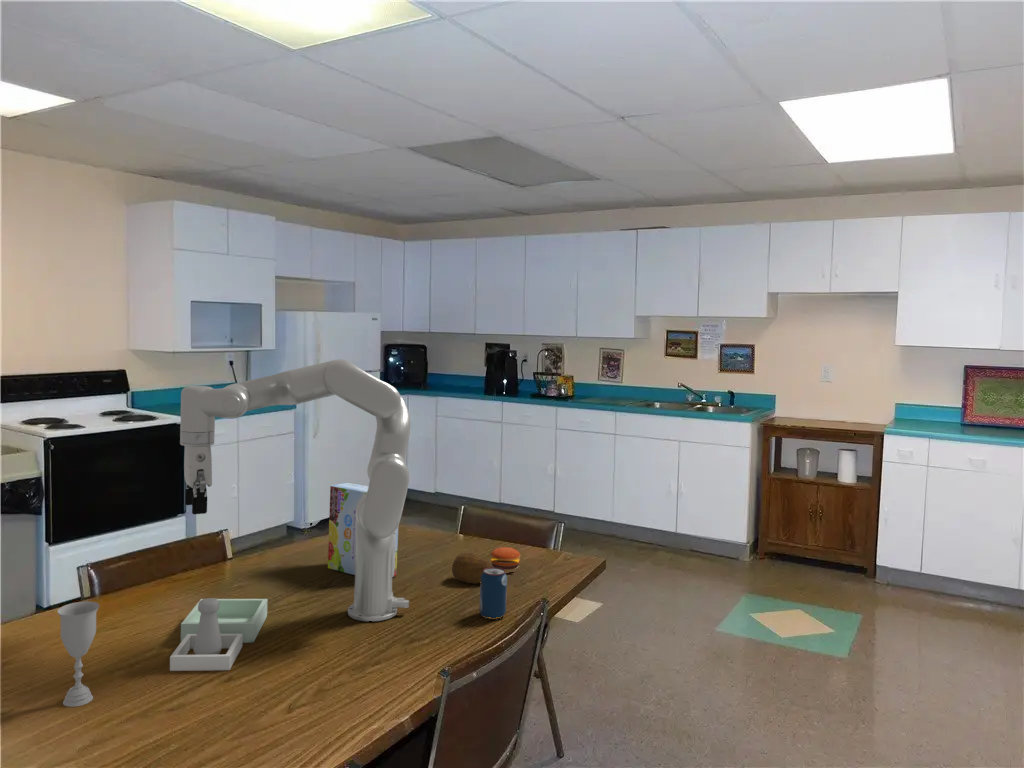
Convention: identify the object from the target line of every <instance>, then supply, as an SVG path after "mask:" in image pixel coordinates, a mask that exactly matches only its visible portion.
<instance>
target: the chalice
mask: <svg viewBox="0 0 1024 768" xmlns="http://www.w3.org/2000/svg"><path fill="white" fill-rule="evenodd" d="M99 608H100V604H99V603H98V602H97V601H96V602H95V601H91V600H90V601H87V600H86V601H78V602H72V603H68V604H65V605H63V606H61V607H60V608H59V609H57V614H58V615H59V617H60V639H61V641H62V644H63V646H64V648H65V650H66V651H67V653H68V654H69V656H70V657H72V658H75V663H74V665H73V668H74V670H75V672H74V674H73V675H72V677H73V678H74V680H75V683H74V685H73V686H72V687H70V688H69V689H68V691H67V692H66V695H65V697H64V700H63V701H62V705H63V706H65V707H69V708H70V707H71V708H72V707H73V708H74V707H81V706H84V705H86V704H88V703H90V702H92V701H93V699H94V695H92V692H91V690H90V687H88V686H87V685H85V684H83V683H82V677H84V673H83V672H82V668H83V667H84V666H83V665H84V664H83V662H82V657H83V656H85V655H86V654H87V653H88V651H89V650H90V647H91V645H92V643H93V640H94V639H95V635H96V633H97V612H98V610H99Z"/></svg>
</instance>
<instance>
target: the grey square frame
mask: <svg viewBox="0 0 1024 768" xmlns="http://www.w3.org/2000/svg"><path fill="white" fill-rule="evenodd" d="M196 635H197V634H187V635H186V637H185V638H184V639H183V641H182V642H181V641H180V643H179V645H178V646H177V647H176V648H175V650H174V651H173V652H172V653H171V655H170V657H169V671H170V672H182V671H185V672H187V671H189V672H191V671H193V672H194V671H195V672H196V671H197V672H199V671H200V672H201V671H230V670H231V668H232V667H233V664H234V663H235V661H236V659H237V657H238V655H240V654H239V653H240V652H241V649H242V648H243V645H244V643H243V634H220V635H221V641H222V649H228V650H227V651H226V653H225V654H221V653H219V654H213V655H195V654H188V653H189V652H190V651H191V650H193V649H194V644H195V640H196ZM188 651H189V652H188Z"/></svg>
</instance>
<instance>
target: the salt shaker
mask: <svg viewBox="0 0 1024 768" xmlns="http://www.w3.org/2000/svg"><path fill="white" fill-rule="evenodd" d="M202 599H203V600H201V599H200V600H201V601H200V600H199V601H200V602H199V601H198V602H199V604H198V611H199V612H201V616H200V621H199V626H198V631H197V635H196V640H195V644H194V649H192V650H193V653H194V655H213V654H221V651H222V649H223V648H222V641H221V635H220V629H219V623H218V617H217V610H218V609H219V601H218V600H217V599H218V598H213V597H209V598H208V597H207V598H202Z"/></svg>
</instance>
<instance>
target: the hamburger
mask: <svg viewBox="0 0 1024 768" xmlns="http://www.w3.org/2000/svg"><path fill="white" fill-rule="evenodd" d="M489 555H490V556H491V558H490V563H491V564H492V567H496V568H502V569H504V570H514V569H516V568H518V567H520V563H521V560H520V557H521V556H522V555H521V553H520V552H519V551H518V550H517V549H515V548H512V547H510V546H509V547H506V546H505V547H504V546H502V547H496V548H495V549H494V550H492V551H490V554H489Z"/></svg>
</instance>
